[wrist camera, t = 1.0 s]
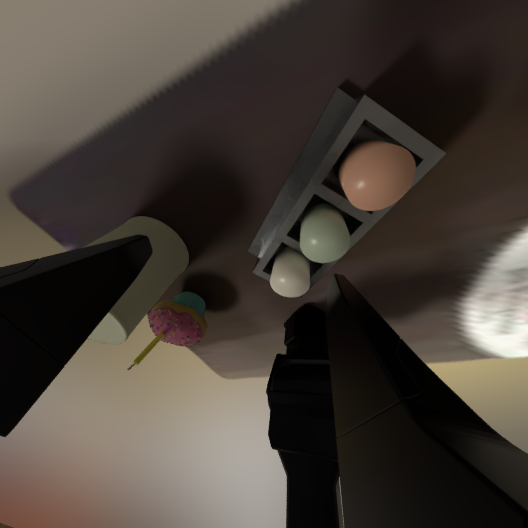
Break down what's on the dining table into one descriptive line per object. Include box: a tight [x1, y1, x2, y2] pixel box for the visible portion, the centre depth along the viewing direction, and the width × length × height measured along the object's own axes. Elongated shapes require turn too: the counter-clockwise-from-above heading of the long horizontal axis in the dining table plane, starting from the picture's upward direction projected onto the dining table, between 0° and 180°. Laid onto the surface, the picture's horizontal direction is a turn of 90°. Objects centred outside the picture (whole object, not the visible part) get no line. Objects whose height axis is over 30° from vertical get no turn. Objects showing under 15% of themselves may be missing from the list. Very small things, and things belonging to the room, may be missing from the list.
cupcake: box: [128, 292, 207, 370], centre depth 27 cm, size 9×8×12 cm
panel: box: [248, 87, 446, 297], centre depth 17 cm, size 9×16×4 cm, turn 153°
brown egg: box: [338, 140, 416, 211], centre depth 12 cm, size 4×4×4 cm
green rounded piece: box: [300, 203, 351, 263], centre depth 15 cm, size 4×4×4 cm
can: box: [83, 216, 189, 344], centre depth 21 cm, size 9×9×12 cm
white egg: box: [270, 247, 310, 297], centre depth 18 cm, size 4×4×4 cm
